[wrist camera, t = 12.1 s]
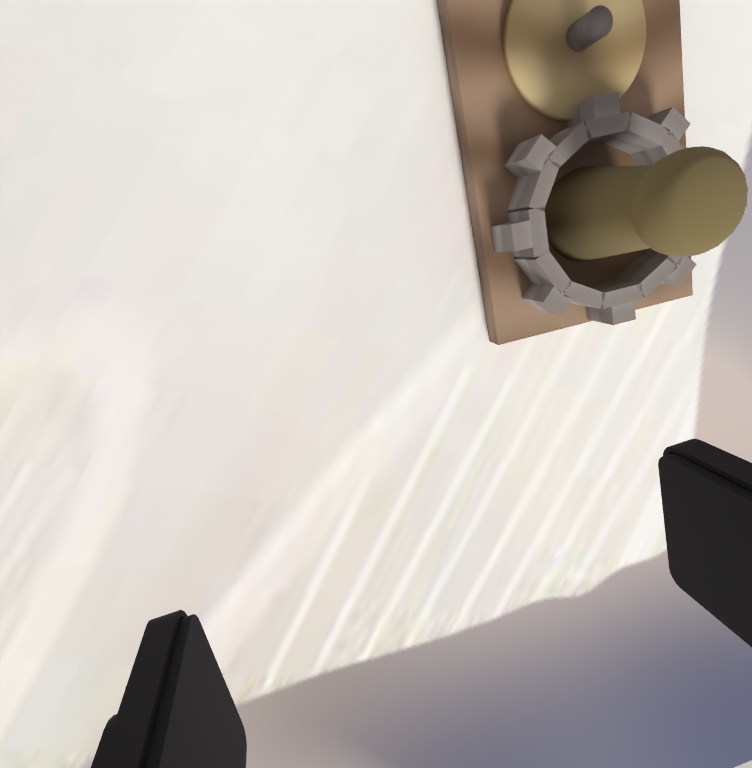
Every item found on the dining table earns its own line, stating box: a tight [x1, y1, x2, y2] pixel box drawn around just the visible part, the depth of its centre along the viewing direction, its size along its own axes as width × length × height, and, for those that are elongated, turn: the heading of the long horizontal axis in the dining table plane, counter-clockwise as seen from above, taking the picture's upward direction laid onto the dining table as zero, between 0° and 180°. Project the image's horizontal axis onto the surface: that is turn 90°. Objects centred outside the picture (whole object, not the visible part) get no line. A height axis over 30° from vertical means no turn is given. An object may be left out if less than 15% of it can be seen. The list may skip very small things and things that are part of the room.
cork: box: [544, 146, 748, 262], centre depth 30 cm, size 6×6×11 cm
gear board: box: [437, 0, 696, 345], centre depth 34 cm, size 23×15×4 cm, turn 12°
